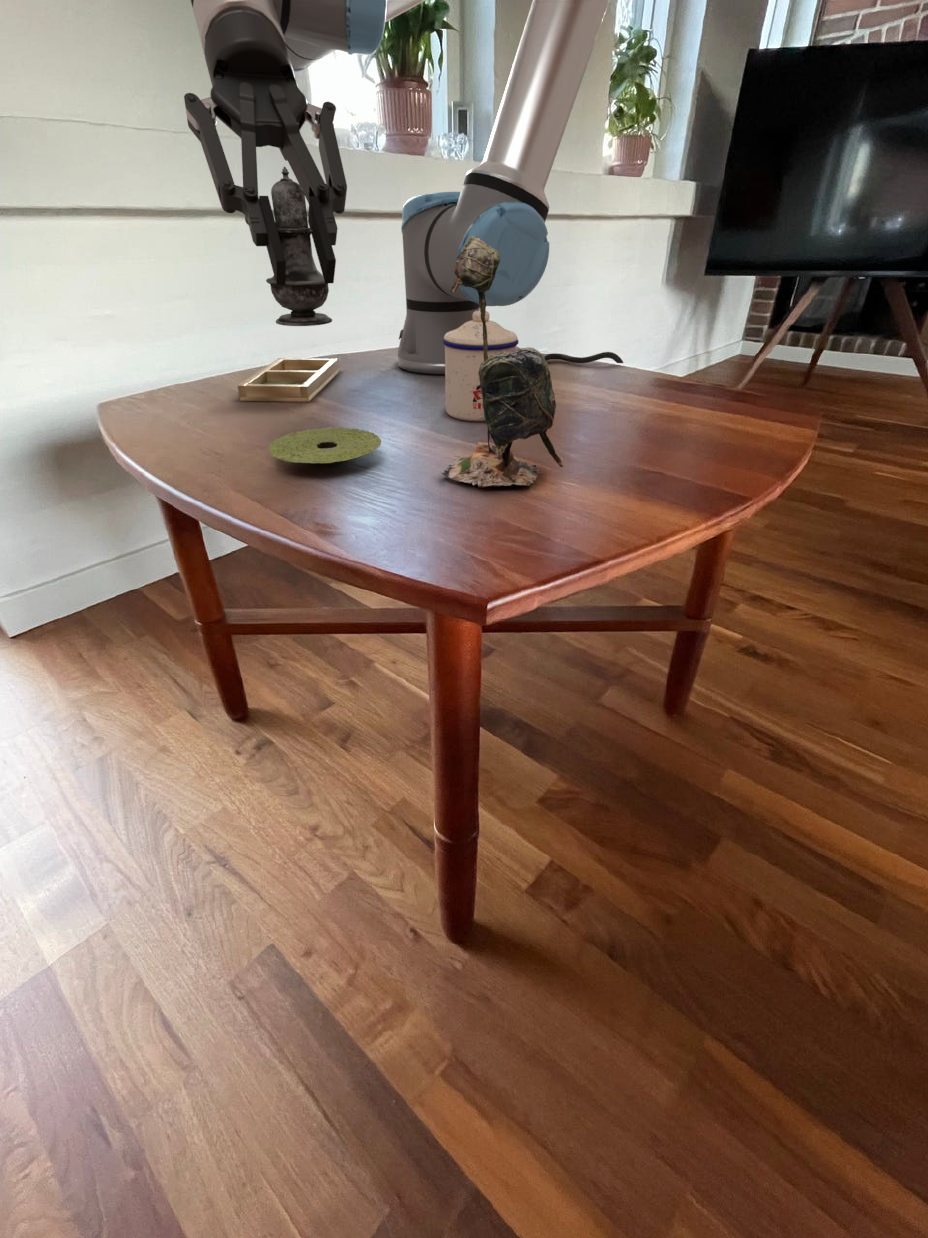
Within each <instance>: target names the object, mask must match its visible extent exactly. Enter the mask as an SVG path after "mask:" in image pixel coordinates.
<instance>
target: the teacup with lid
mask: <svg viewBox="0 0 928 1238" xmlns="http://www.w3.org/2000/svg"><path fill="white" fill-rule="evenodd" d="M490 316H491V315H490V312H489V311H488V310H486V313H485V320H486V327H487V341H488V347H487V348H488V350H487V354H488V358H489V357H490V356H491V355H492V356H495V355H497V354H499V353H501V352H508V351H510V350H516V349H521V347H519V346H517V345H519V341H520V340H519V339H518V338H519V337H518V335H517V334H516V333H515V332H514V331H511V330H508V329H506V328H504V327H503V326H502V325H500V324H499V323H498V322H497V321H494V320H490ZM443 344H444V345H445V374H444V377H445V378H444V381H445V411H446V414H447V415H449V416H450V417H451V418H455V419H456V420H461V421H467V422H485V418H484V409H483V398H482V391H481V385H480V380H479V374H478V373H479V368H480V366H481V363H483V362H484V353H483V323H482V320H481V312H480V311H475V312H474V313H473V320H472V321H468V322H466V323H464V324H463V325H461V326H460V327H459V328H457V329H455V330H453V331H450V332H447V333H446V334H445V336H444V340H443Z"/></svg>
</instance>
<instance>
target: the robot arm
mask: <svg viewBox="0 0 928 1238" xmlns="http://www.w3.org/2000/svg"><path fill="white" fill-rule="evenodd" d="M425 1H427V0H190V4H191V7H192V10H193V15H194V19H195V24H196V27H197V31H198V35H199V39H200V44H201V47H202V51H203V55H204V60H205V64H206V67H207V72H208V74H209V75H208V76H209V79H210V83H211V86H212V87H211V89H210V96H209V97H206V98H205V97H204V98H202V99H200V98H199V96H198V95H197V94H195V93H193V92H187V93H185V94H184V95H183V101H184V108H185V113H186V120H187V121H186V122H187V126H188V128H189V129H190V131H191V132H192V133H193V135H194V136H195V137H196V138H197V140H198V142H199V143H200V145H201V149H202V151H203V153H204V156H205V160H206V163H207V166H208V169H209V172H210V175H211V178H212V181H213V184H214V188H215V190H216V193H217V196H218V200H219V202H220V206H221V208H222V211H224V212H225V213H227V214H235V212H239V213H242V214H243V215H244V221H245V223H246V225H248V227H249V232H250V236H251V240H252V242H253V244H254V245H255V246H256V247H266V251H267V253H268V257H269V261H270V265H271V269H272V273H273V276H274V277H275V281H276V284H277V285H285V279H286V261H285V257H284V253H283V250H282V246H281V242H280V238H279V235H278V231H277V227H276V224H275V217H274V211H273V208H272V205H271V202H270V197H269V195H259V183H258V181H259V180H258V162H257V161H258V160H257V159H258V158H257V148H263V147H267V146H268V147H273V148H277V149H279V151H280V153H281V155H282V158H283V160H285V162H286V161H287V163H288V164H289V166H290V169H291V170H292V172H293V175H294V177H295V179H296V181H297V183H298V184H299V185H300V186H301V187H302V188H303V190H304V194H305V200H306V201H307V203H308V212H307V220H308V227H309V228H310V229H311V230H313V233H311V237H312V241H313V245H314V248H315V251H316V256H317V260H318V262H319V267H320V270H321V274H322V275H323V277H324V281H325V284H327V283H328V284H334V282H335V273H336V264H337V258H336V255H335V251H334V248H333V246H336V244H337V238H338V225H337V221H336V218H335V214H334V213H336V214H337V215H340V214H343V213H345V210H346V202H347V201H346V200H347V191H348V185H347V180H346V179H347V178H346V175H345V171H344V166H343V162H342V157H341V153H340V148H339V144H338V138H337V135H336V130H335V127H336V114H337V107H336V104H335V103H333V102H331V101H325V102H323V104H322V107H319V106H316V105H314V104H311V103H308V98H307V97H306V95H305V93H303V91H301V89H300V88H299V86H298V83H297V80H296V76H295V75H296V74H295V72H297V73H298V72H301V71H304V70H305V69H307V68H309V67H310V66H311V65H312V64H314V63H315V62H318V61H319V60H320V59H323V58H324V57H326V56H328V55H330V54H332V53H333V52H335V51H342V52H345V53H347V54H348V55H349V56H350V55H351V56H352V55H354V54H355V55H363V56H372V55H374V54H375V53H376V52H377V51H378V50H379V47H380V45H381V43H382V40H383V36H384V32H385V28H386V23H387V22H389V21H391V20H392V19H394V18H396V17H398V16H400V15H401V14H404V13H406V12H407V11H409V10H411V9H413V8H414V7H416V6H418V5H420V4H422V3H424V2H425ZM610 1H611V0H532V2H531V5H530V8H529V11H528V15H527V18H526V20H525V24H524V28H523V31H522V34H521V36H520V40H519V44H518V46H517V51H516V54H515V56H514V60H513V63H512V66H511V70H510V72H509V76H508V79H507V83H506V86H505V89H504V92H503V95H502V99H501V102H500V104H499V109H498V112H497V115H496V117H495V121H494V125H493V127H492V131H491V134H490V138H489V140H488V144H487V146H486V147H487V148H486V149H485V150H486V151H485V153H484V157H483V160H482V162H481V163H480V164H479V165H477V166H475V167H473V168H471V169H469V170H467V172H466V174H465V178H464V181H463V184H462V187H461V190H460V191H441V192H433V193H425V194H421V195H415V196H412V197H411V198H409V199H407V200H406V201H405V203H403V206H402V207H403V208H402V215H401V217H402V218H401V225H400V230H401V234H402V235H401V236H402V249H403V250H402V251H403V267H404V268H403V270H404V287H405V304H406V305H405V306H406V307H405V308H406V315H405V320H404V324H403V328H402V329H401V330H400V331H399V336H398V340H399V345H398V349H397V366H398V367H399V368H401V369H402V370H403V371H404V370H405V371H407V372H411V373H417V374H425V375H445V345H444V344H443V340H444V336H445V334H446V333H447V332H450V331H453V330H455V329H457V328H459V327H460V326H461V325H463V324H464V323H466V322H468V321H472V320H473V313H474V312H475V311H480V306H479V295H478V291H477V290H476V289H474V288H471V287H465V286H464V285H460V286H458V288H457V290H456V291H455V292H451V291H450V289H451V287H452V286H453V285H454V282H455V280H456V274H455V268H454V267H456V261H457V260H458V258H460V256H461V252H462V250H463V248H464V245H465V244H466V243H467V240H468V239H469V238H471V237H472V236H477V237H479V239H481V240H482V241H483V242H484V243H485V244H487V245H490V246H491V247H492V248H493V249H494V250H497V252H498V253H499V255H500V262H499V265H498V268H497V270H496V274H495V278H494V280H493V282H492V285H491V287H490V289H489V290H488V291H485V300H486V307H507V306H511V305H514V304H516V303H519V302H520V301H522V300H523V299H525V298H527V296H529V295H530V294H531V293H532V292H533V291H534V290H535V288H537V286H538V284H539V283H540V281H541V279H542V278H543V275H544V273H545V272H546V268H547V266H548V261H549V256H550V242H549V240H548V237H547V236H548V234H549V232H548V228H547V225H546V221H547V218H548V215H549V211H550V205H549V202H548V199H547V196H546V194H545V188H546V185H547V182H548V180H549V177H550V173H551V171H552V167H553V165H554V162H555V160H556V157H557V153H558V151H559V147H560V145H561V142H562V140H563V137H564V134H565V131H566V129H567V125H568V122H569V119H570V116H571V112H572V111H573V108H574V105H575V102H576V99H577V96H578V93H579V90H580V88H581V84H582V81H583V79H584V76H585V73H586V70H587V68H588V64H589V62H590V58H591V55H592V54H593V50H594V47H595V44H596V41H597V38H598V35H599V33H600V30H601V26H602V24H603V21H604V18H605V15H606V12H607V10H608V7H609V4H610ZM217 119H218V120H219V121H221V122H222V123H223V124H224V125H225V126H226V127H227V128H228V129H229V130H231V131H232V132H233V133H234V134H235V135H236V136H238V137H239V138H240V142H241V168H242V169H241V170H242V171H241V172H242V186H240V185H237V184H235V181H234V178H233V175H232V172H231V169H230V166H229V163H228V160H227V158H226V154H225V151H224V148H223V145H222V141H221V140H220V136H219V132H218V130H217ZM306 122H307V123H308V124H309V125H310V129H311V130H312V132H313V133H314V134H313V136H314V138H315V139H316V140H318V152H319V156H320V162H321V165H322V170H323V176H324V178H323V176H322V174H321V172H320V171H319V168H318V166H317V163H316V162H315V160H314V158H313V156H312V154H311V152H310V150H309V148H308V146H307V144H306V143H305V140H304V138H303V136H302V134H301V129H302V127H303V126H304V125H305V123H306ZM324 179H325V180H324ZM543 355H544V357H545V361H546V362H547V361H549V360H560V361H565V362H568V363H572V364H589V363H593V362H597V361H598V360H602V359H611V360H612V361H614V362H615V363H616V364H624V361H623V359H622V357H620V355H618V354H617V353H615V352H612V351H602V352H599V353H596V354H592V355H588V356H582V357H581V356H579V357H578V356H573V355H570V354H569V355H568V354H565V353H556V352H555V353H547V354H543Z"/></svg>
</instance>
